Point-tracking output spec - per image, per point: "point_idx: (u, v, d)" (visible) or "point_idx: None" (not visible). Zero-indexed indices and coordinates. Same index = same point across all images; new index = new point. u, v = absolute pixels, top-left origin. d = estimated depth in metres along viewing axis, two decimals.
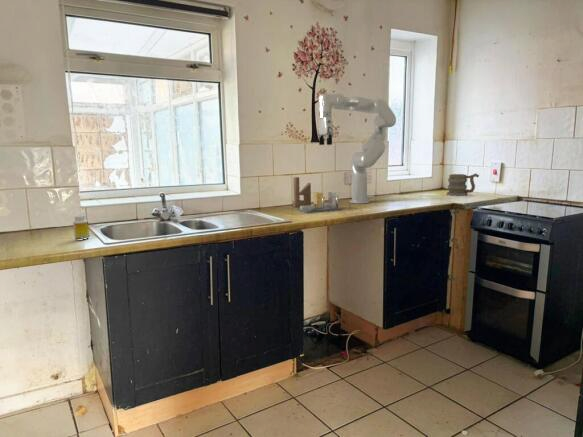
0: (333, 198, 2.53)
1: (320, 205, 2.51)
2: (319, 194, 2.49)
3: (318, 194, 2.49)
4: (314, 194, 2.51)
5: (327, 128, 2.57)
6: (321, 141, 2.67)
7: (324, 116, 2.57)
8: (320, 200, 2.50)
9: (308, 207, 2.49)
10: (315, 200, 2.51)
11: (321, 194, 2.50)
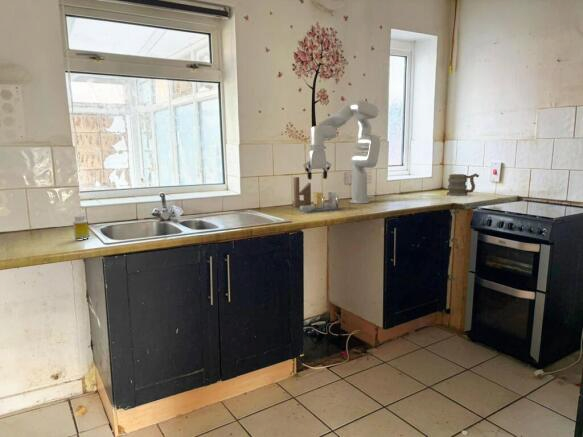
0: (333, 198, 2.53)
1: (320, 205, 2.51)
2: (319, 194, 2.49)
3: (318, 194, 2.49)
4: (314, 194, 2.51)
5: None
6: None
7: (323, 149, 2.46)
8: (320, 200, 2.50)
9: (308, 207, 2.49)
10: (315, 200, 2.51)
11: (321, 194, 2.50)
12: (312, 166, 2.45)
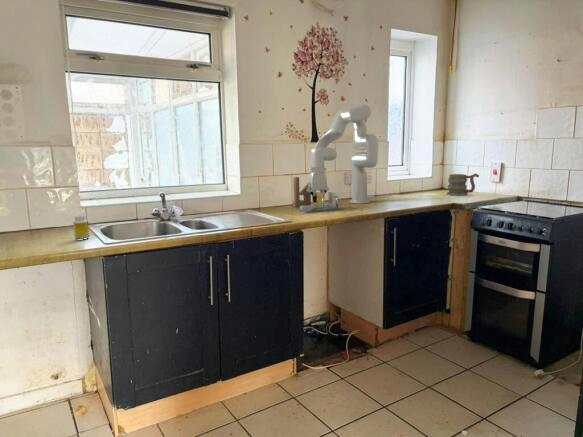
0: (333, 198, 2.53)
1: (320, 205, 2.51)
2: (319, 194, 2.49)
3: (318, 194, 2.49)
4: None
5: None
6: None
7: (324, 171, 2.48)
8: (320, 200, 2.50)
9: (308, 207, 2.49)
10: None
11: (321, 194, 2.50)
12: (313, 188, 2.47)
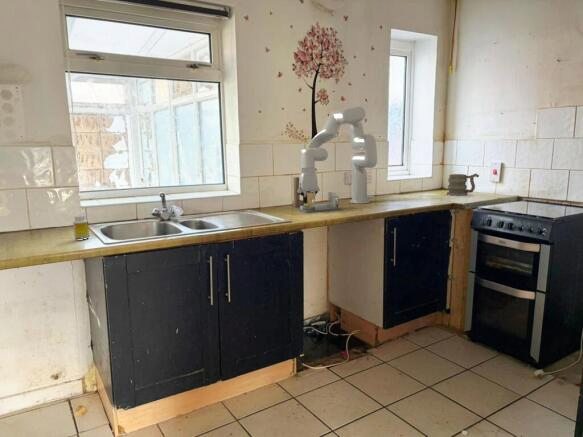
0: (333, 198, 2.53)
1: (311, 206, 2.48)
2: (310, 195, 2.47)
3: (308, 195, 2.46)
4: None
5: None
6: None
7: (314, 172, 2.46)
8: (311, 201, 2.48)
9: None
10: None
11: (312, 195, 2.47)
12: (303, 189, 2.45)
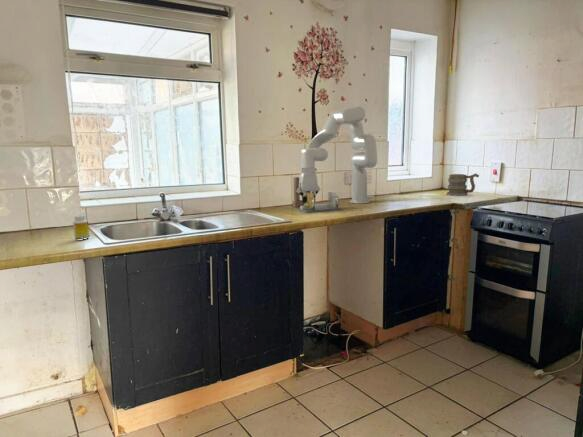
0: (333, 198, 2.53)
1: (311, 206, 2.48)
2: (310, 195, 2.47)
3: (308, 195, 2.46)
4: (305, 195, 2.49)
5: None
6: None
7: (314, 172, 2.46)
8: (311, 201, 2.48)
9: None
10: (306, 201, 2.48)
11: (312, 195, 2.47)
12: (303, 189, 2.45)
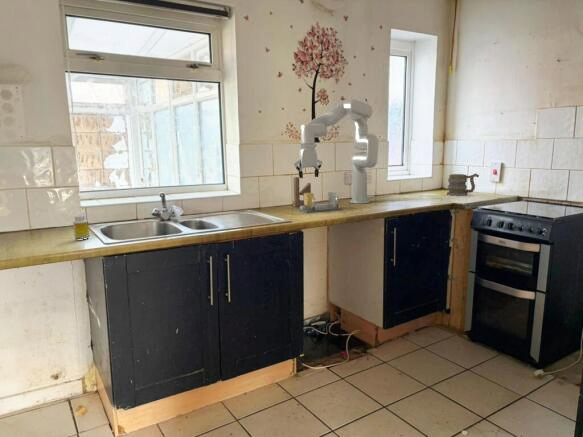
0: (333, 198, 2.53)
1: (311, 206, 2.48)
2: (310, 195, 2.47)
3: (308, 195, 2.46)
4: (305, 195, 2.49)
5: None
6: None
7: (314, 147, 2.44)
8: (311, 201, 2.48)
9: None
10: (306, 201, 2.48)
11: (312, 195, 2.47)
12: (303, 165, 2.43)
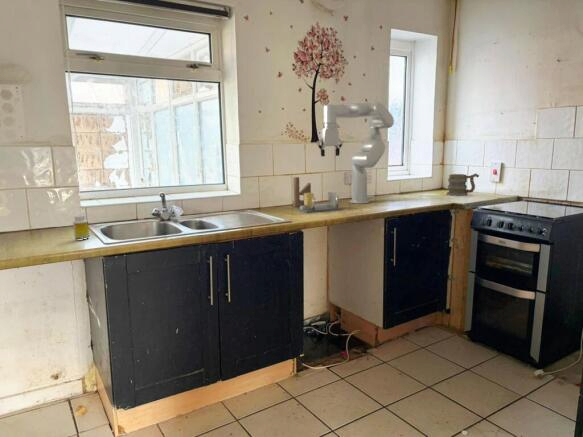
0: (333, 198, 2.53)
1: (311, 206, 2.48)
2: (310, 195, 2.47)
3: (308, 195, 2.46)
4: (305, 195, 2.49)
5: None
6: None
7: (336, 127, 2.55)
8: (311, 201, 2.48)
9: None
10: (306, 201, 2.48)
11: (312, 195, 2.47)
12: (325, 143, 2.54)
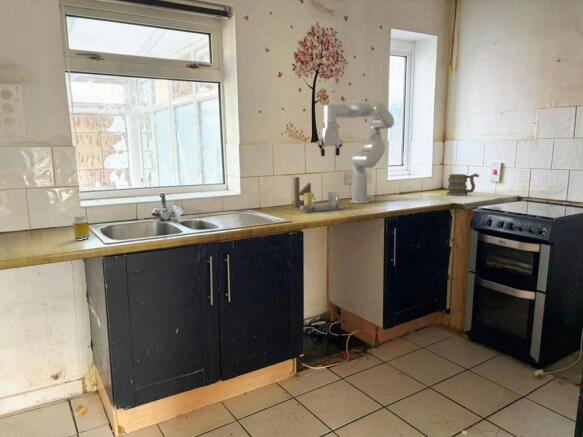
0: (333, 198, 2.53)
1: (311, 206, 2.48)
2: (310, 195, 2.47)
3: (308, 195, 2.46)
4: (305, 195, 2.49)
5: None
6: None
7: (336, 128, 2.55)
8: (311, 201, 2.48)
9: None
10: (306, 201, 2.48)
11: (312, 195, 2.47)
12: (325, 143, 2.54)
